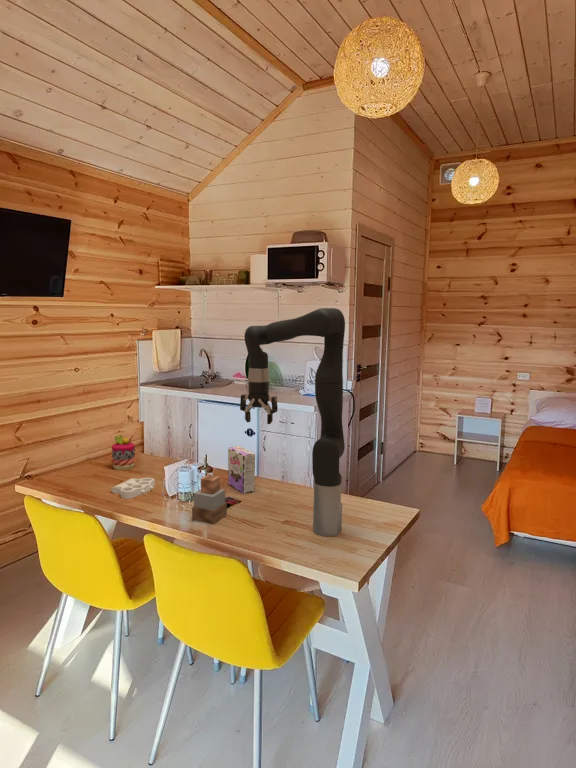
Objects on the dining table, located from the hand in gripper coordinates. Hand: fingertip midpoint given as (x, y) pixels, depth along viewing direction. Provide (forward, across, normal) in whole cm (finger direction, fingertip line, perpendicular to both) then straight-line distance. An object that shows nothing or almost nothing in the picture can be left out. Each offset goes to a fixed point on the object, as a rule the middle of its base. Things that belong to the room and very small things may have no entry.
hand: (258, 422), depth 191 cm
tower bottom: (+33, +12, +17) cm, 39 cm away
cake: (+32, +78, -19) cm, 87 cm away
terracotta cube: (+23, +12, +16) cm, 30 cm away
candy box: (+33, +15, -16) cm, 39 cm away
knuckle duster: (+33, +54, +5) cm, 63 cm away
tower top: (+28, +12, +17) cm, 34 cm away
